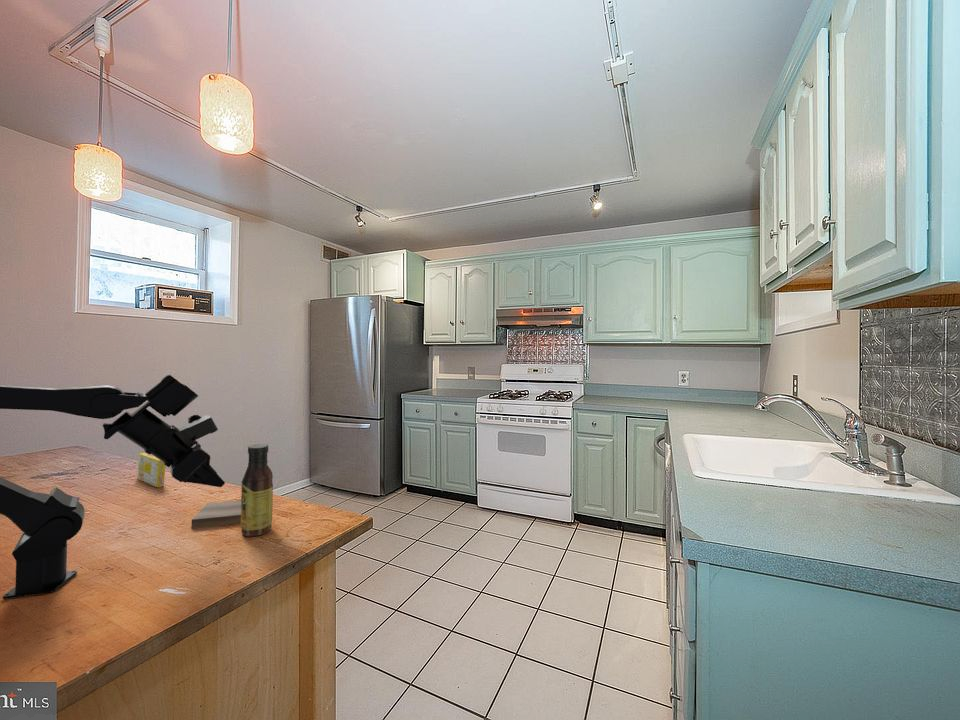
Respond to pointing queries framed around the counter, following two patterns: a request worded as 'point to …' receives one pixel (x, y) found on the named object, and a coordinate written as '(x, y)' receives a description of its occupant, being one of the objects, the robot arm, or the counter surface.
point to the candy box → (151, 470)
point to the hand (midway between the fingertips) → (219, 479)
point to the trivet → (218, 514)
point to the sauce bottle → (257, 493)
